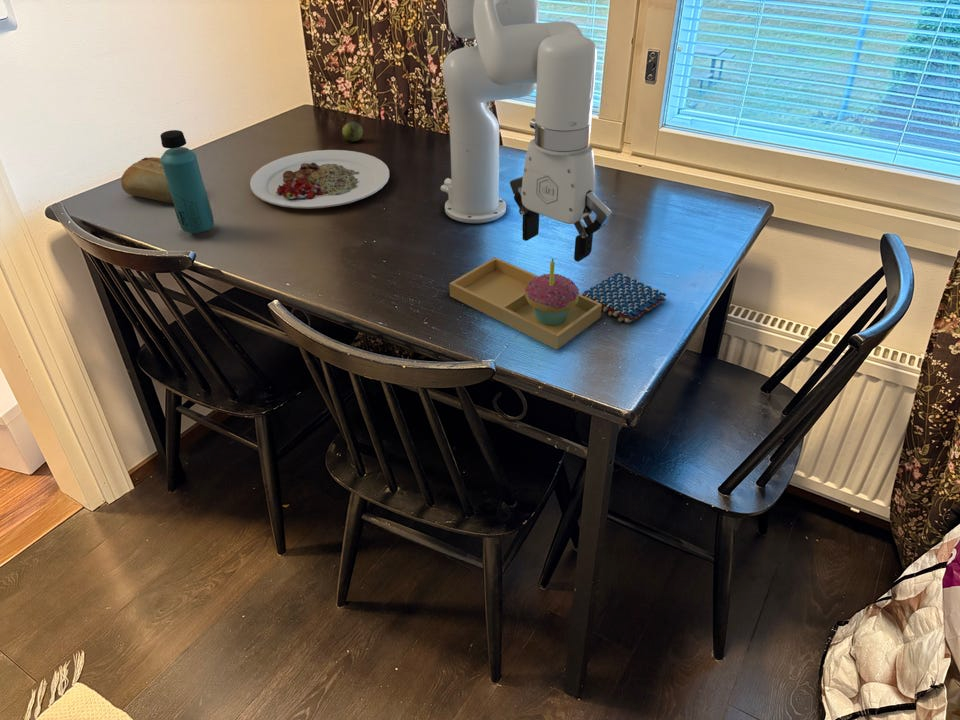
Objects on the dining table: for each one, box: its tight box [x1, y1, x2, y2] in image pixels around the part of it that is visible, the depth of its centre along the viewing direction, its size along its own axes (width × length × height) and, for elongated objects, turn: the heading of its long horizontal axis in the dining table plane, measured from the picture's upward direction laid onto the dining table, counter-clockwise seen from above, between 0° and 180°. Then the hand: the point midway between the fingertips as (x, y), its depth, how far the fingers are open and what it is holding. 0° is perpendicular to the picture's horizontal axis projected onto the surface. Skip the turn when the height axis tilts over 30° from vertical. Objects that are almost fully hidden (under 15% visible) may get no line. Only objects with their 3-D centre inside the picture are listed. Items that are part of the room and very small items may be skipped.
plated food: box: [249, 149, 390, 209], centre depth 156 cm, size 30×30×3 cm
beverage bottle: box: [160, 129, 215, 234], centre depth 134 cm, size 6×7×20 cm
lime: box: [341, 121, 364, 143], centre depth 176 cm, size 4×5×5 cm
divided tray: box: [449, 256, 603, 351], centre depth 118 cm, size 23×12×3 cm, turn 48°
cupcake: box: [525, 257, 580, 325], centre depth 112 cm, size 9×8×12 cm
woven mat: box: [581, 272, 667, 323], centre depth 119 cm, size 10×11×2 cm
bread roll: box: [120, 157, 174, 204], centre depth 150 cm, size 10×15×8 cm, turn 75°
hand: (555, 247), depth 107 cm, fingers open, 9 cm apart
